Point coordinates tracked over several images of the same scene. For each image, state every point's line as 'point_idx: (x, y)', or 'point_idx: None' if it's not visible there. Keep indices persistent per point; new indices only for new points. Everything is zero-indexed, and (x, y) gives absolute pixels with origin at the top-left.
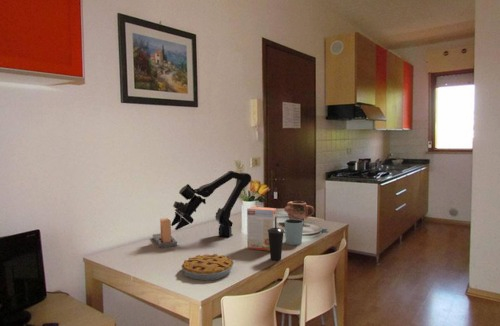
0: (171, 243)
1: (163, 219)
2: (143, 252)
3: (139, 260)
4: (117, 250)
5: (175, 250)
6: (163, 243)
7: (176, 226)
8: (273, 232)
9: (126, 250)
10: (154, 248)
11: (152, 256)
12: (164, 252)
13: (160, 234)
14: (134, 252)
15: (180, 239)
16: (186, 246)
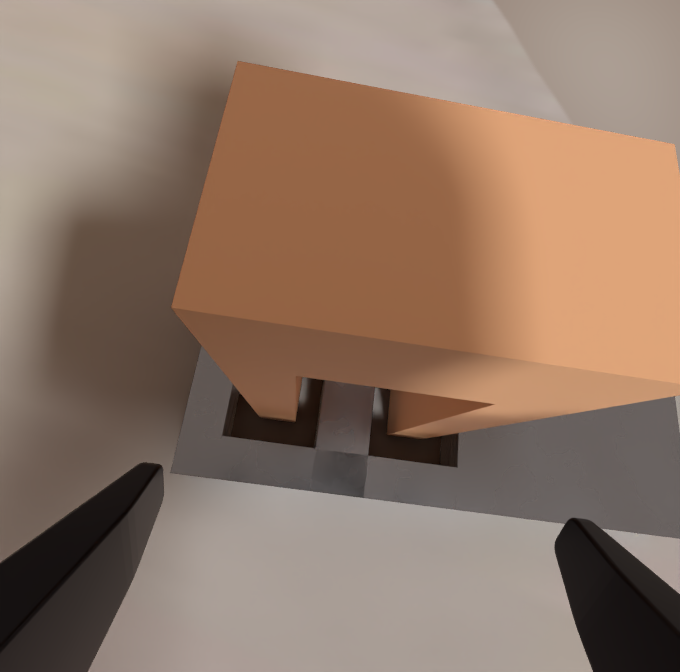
0: (192, 394)
1: (534, 182)
2: (199, 116)
3: (7, 28)
4: (383, 4)
5: (20, 382)
6: None
7: (104, 509)
8: None
9: (344, 44)
10: None
11: (22, 132)
12: (50, 258)
13: (641, 407)
14: None
15: (436, 629)
16: None
